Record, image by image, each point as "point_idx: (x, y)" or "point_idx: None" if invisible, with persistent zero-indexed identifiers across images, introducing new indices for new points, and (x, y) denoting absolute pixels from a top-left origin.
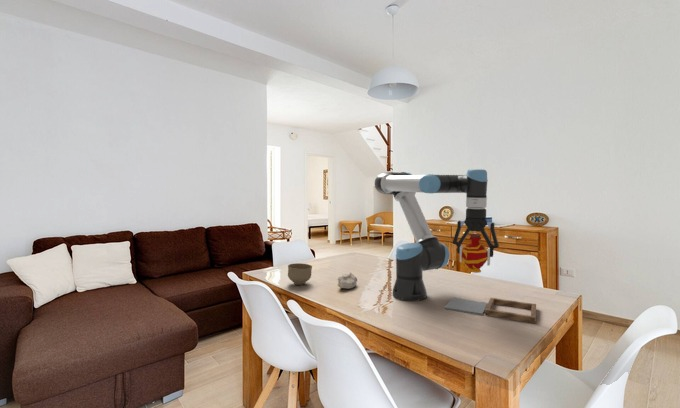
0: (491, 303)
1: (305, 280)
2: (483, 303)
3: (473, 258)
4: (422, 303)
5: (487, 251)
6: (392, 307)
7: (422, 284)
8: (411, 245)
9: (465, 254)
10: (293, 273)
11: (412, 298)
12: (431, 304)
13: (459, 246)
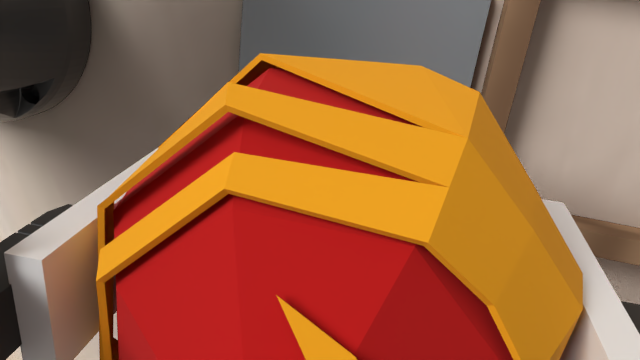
0: (510, 90)
1: None
2: (459, 26)
3: None
4: (106, 127)
5: (572, 285)
6: (10, 231)
7: (4, 40)
8: None
9: None
10: None
11: (36, 113)
12: (154, 128)
13: (11, 335)
